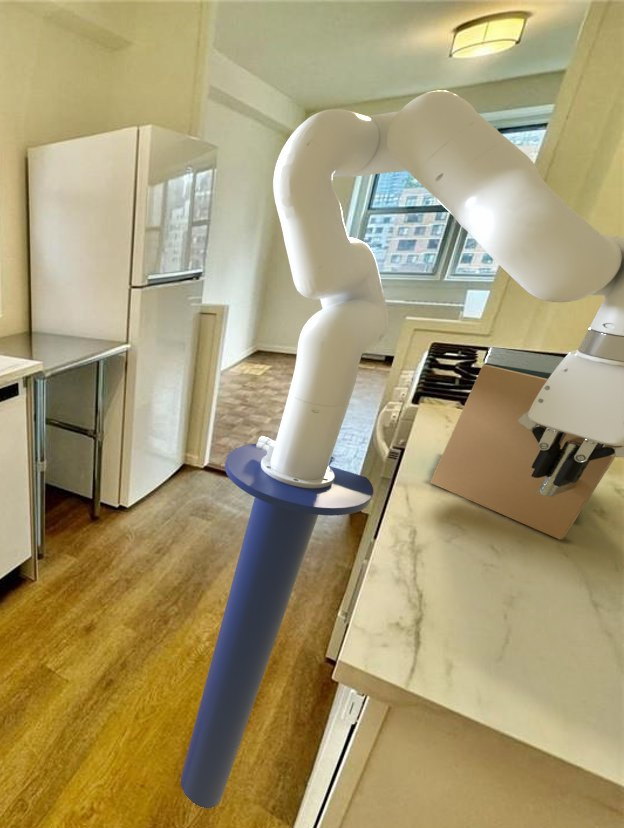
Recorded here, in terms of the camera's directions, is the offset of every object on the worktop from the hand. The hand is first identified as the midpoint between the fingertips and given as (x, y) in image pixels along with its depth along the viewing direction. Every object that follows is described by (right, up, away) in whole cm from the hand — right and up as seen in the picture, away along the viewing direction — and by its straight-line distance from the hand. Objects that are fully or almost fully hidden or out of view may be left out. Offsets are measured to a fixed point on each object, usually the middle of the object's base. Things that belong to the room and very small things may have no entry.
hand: (550, 479), depth 67 cm
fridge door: (+1, -6, +11) cm, 13 cm away
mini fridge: (+12, -2, +19) cm, 23 cm away
